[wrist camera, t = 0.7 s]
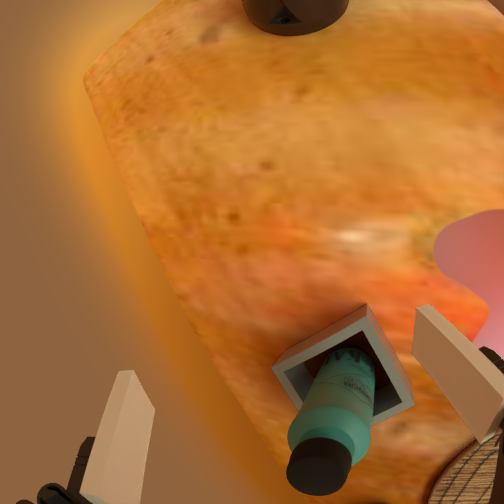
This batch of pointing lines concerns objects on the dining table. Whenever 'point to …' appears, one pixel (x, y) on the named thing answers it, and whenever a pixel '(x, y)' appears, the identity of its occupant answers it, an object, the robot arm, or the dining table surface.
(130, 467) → the robot arm
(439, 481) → the trivet
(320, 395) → the beverage bottle
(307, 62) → the dining table surface
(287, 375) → the bottle holder
